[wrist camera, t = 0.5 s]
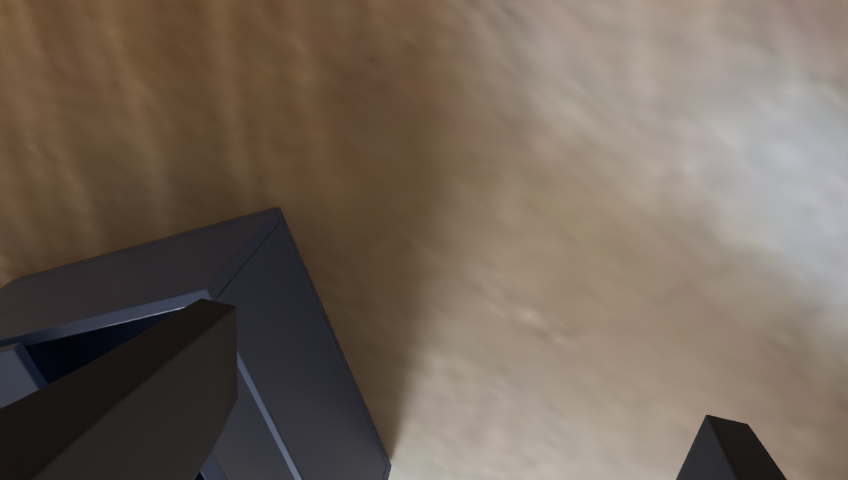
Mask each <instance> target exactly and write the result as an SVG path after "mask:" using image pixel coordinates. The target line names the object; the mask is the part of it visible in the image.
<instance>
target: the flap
mask: <svg viewBox="0 0 848 480" xmlns="http://www.w3.org/2000/svg"><path fill="white" fill-rule="evenodd" d="M237 378H238V399H237V401H236V403H235V406H234V408H233V410H232V412H231V414H230V416H229V418H228V420H227V423H226V425H225V427H224V429H223V431H222V433H221V435H220V437H219V439H218V441H217V443H216V445H215V447H214V449H213V451H212V453H211V454H210V456H209V458H208V459H207V461H206V462H205V464H204V466H203V467H202V469H201V470H200V472H201V474H202V476H203V477H204V479H205V480H295V478H294V476H293V474H292V472H291V470H290V468H289V466H288V464H287V462H286V460H285V458H284V456H283V454H282V452H281V451H280V449H279V447H278V445H277V443H276V441H275V439H274V437H273V435H272V433H271V431H270V429H269V427H268V425H267V423H266V421H265V419H264V417H263V415H262V413H261V411H260V409H259V407H258V405H257V403H256V401H255V399H254V397H253V395H252V393H251V391H250V389H249V387H248V385H247V383H246V381H245V379H244V377H243V375H242V373H241V371H240V369H239V367H238V365H237Z"/></svg>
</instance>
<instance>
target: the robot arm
mask: <svg viewBox="0 0 848 480" xmlns="http://www.w3.org/2000/svg"><path fill="white" fill-rule="evenodd" d="M237 399H238V378H237V319H236V306H234V305H230V304H225V303H221V302H217V301H212V300H208V299H204V298H201V299H199V300H197V301H195V302H193V303H192V304H190V305H188V306H186V307H185V308H183V309H181V310H179V311H178V312H176V313H174V314H173V315H171V316H169V317H168V318H166V319H164V320H163V321H161V322H159V323H158V324H156V325H154V326H153V327H151V328H149V329H148V330H146V331H144V332H142V333H141V334H139V335H137V336H136V337H134V338H132V339H131V340H129V341H127V342H125V343H124V344H122V345H120V346H118V347H117V348H115V349H113V350H111V351H110V352H108V353H106V354H104V355H103V356H101V357H99V358H97V359H96V360H94V361H92V362H90V363H89V364H87V365H85V366H83V367H81V368H79V369H77V370H75V371H73V372H72V373H70V374H68V375H66V376H64V377H62V378H60V379H58V380H56V381H54V382H52V383H50V384H49V385H47V386H45V387H43V388H41V389H39V390H37V391H35V392H33V393H31V394H29V395H27V396H26V397H24V398H22V399H20V400H17V401H15V402H13V403H11V404H9V405H7V406H5V407H3V408H1V409H0V480H195V478H196V476H197V475H198V473H199V472H200V470H201V469H202V467H203V466H204V464H205V462H206V461H207V459H208V458H209V456H210V454H211V453H212V451H213V449H214V447H215V445H216V443H217V441H218V439H219V437H220V435H221V433H222V431H223V429H224V427H225V425H226V423H227V420H228V418H229V416H230V414H231V412H232V410H233V408H234V406H235V403H236V401H237ZM676 480H787V479H786V478H785V476H784V475H783V473H782V472H781V471H780V469H779V468H778V466H777V465H776V463H775V462H774V461H773V459H772V458H771V456H770V455H769V453H768V452H767V450H766V449H765V448H764V446H763V445H762V443H761V442H760V441H759V439H758V438H757V436H756V435H755V434H754V432H753V431H752V429H751V428H750V427H749V425H748V424H745V423H740V422H736V421H732V420H727V419H723V418H719V417H715V416H710V415H706V416H705V419H704V421H703V423H702V425H701V427H700V429H699V431H698V434H697V436H696V438H695V440H694V442H693V444H692V446H691V449H690V451H689V453H688V455H687V457H686V459H685V462H684V464H683V466H682V468H681V470H680V472H679V474H678V477H677V479H676Z"/></svg>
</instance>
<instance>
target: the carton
mask: <svg viewBox="0 0 848 480" xmlns="http://www.w3.org/2000/svg"><path fill="white" fill-rule="evenodd" d="M201 298H204V299H208V300H212V301H217V302H221V303H225V304H230V305H234V306H236V319H237V365H238V367H239V369H240V371H241V373H242V375H243V377H244V379H245V381H246V383H247V385H248V387H249V389H250V391H251V393H252V395H253V397H254V399H255V401H256V403H257V405H258V407H259V409H260V411H261V413H262V415H263V417H264V419H265V421H266V423H267V425H268V427H269V429H270V431H271V433H272V435H273V437H274V439H275V441H276V443H277V445H278V447H279V449H280V451H281V452H282V454H283V456H284V458H285V460H286V462H287V464H288V466H289V468H290V470H291V472H292V474H293V476H294V478H295V480H388V478H389V473H390V470H391V463H390V461H389V459H388V456H387V454H386V452H385V450H384V447H383V445H382V443H381V440H380V438H379V436H378V433H377V431H376V429H375V427H374V424H373V422H372V420H371V417H370V415H369V413H368V410H367V408H366V406H365V404H364V401H363V399H362V397H361V394H360V392H359V390H358V387H357V385H356V383H355V381H354V378H353V376H352V374H351V371H350V369H349V367H348V364H347V362H346V360H345V358H344V355H343V353H342V351H341V348H340V346H339V344H338V341H337V339H336V337H335V335H334V332H333V330H332V328H331V325H330V323H329V321H328V318H327V316H326V314H325V312H324V309H323V307H322V305H321V302H320V300H319V298H318V295H317V293H316V291H315V288H314V286H313V284H312V282H311V279H310V277H309V275H308V272H307V270H306V268H305V265H304V263H303V261H302V259H301V256H300V254H299V252H298V249H297V247H296V245H295V242H294V240H293V238H292V236H291V233H290V231H289V229H288V226H287V224H286V222H285V219H284V217H283V215H282V213H281V210H280V208H279V207H276V208H272V209H269V210H265V211H261V212H258V213H254V214H251V215H247V216H243V217H240V218H236V219H232V220H229V221H225V222H222V223H218V224H214V225H211V226H207V227H203V228H200V229H196V230H193V231H189V232H185V233H182V234H178V235H174V236H171V237H167V238H164V239H160V240H156V241H153V242H149V243H145V244H142V245H138V246H134V247H131V248H127V249H124V250H120V251H116V252H113V253H109V254H105V255H102V256H98V257H95V258H91V259H87V260H84V261H80V262H76V263H73V264H69V265H66V266H62V267H58V268H55V269H51V270H47V271H44V272H40V273H37V274H33V275H29V276H26V277H22V278H18V279H15V280H12V281H10V282H9V283H7V284H6V285H5V286H3V287H1V288H0V409H1V408H3V407H5V406H7V405H9V404H11V403H13V402H15V401H17V400H20V399H22V398H24V397H26V396H27V395H29V394H31V393H33V392H35V391H37V390H39V389H41V388H43V387H45V386H47V385H49V384H50V383H52V382H54V381H56V380H58V379H60V378H62V377H64V376H66V375H68V374H70V373H72V372H73V371H75V370H77V369H79V368H81V367H83V366H85V365H87V364H89V363H90V362H92V361H94V360H96V359H97V358H99V357H101V356H103V355H104V354H106V353H108V352H110V351H111V350H113V349H115V348H117V347H118V346H120V345H122V344H124V343H125V342H127V341H129V340H131V339H132V338H134V337H136V336H137V335H139V334H141V333H142V332H144V331H146V330H148V329H149V328H151V327H153V326H154V325H156V324H158V323H159V322H161V321H163V320H164V319H166V318H168V317H169V316H171V315H173V314H174V313H176V312H178V311H179V310H181V309H183V308H185V307H186V306H188V305H190V304H192V303H193V302H195V301H197V300H199V299H201ZM195 480H205V479H204V477H203V476H202V474H201V472H199V473H198V475H197V476H196V478H195Z"/></svg>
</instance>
